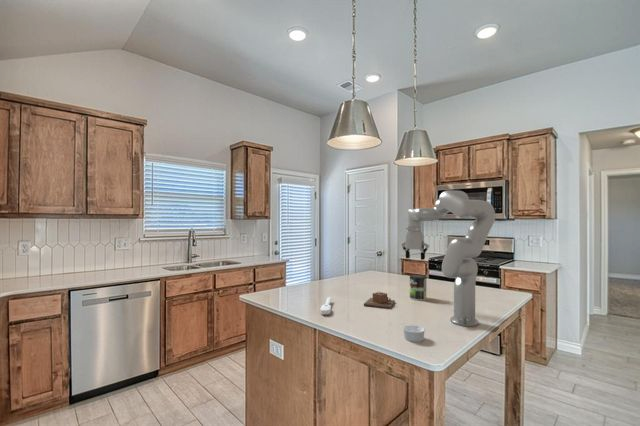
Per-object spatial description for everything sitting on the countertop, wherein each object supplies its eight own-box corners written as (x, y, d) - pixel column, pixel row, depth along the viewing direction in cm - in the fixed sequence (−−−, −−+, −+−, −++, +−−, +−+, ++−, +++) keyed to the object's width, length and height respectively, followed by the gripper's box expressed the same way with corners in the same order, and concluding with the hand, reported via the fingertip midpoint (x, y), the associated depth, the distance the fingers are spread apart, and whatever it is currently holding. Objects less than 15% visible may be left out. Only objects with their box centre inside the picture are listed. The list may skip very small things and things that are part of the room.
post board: (390, 309, 177) (390, 297, 178) (363, 306, 183) (363, 294, 183) (395, 302, 191) (395, 291, 191) (370, 299, 197) (370, 288, 197)
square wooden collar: (380, 304, 183) (380, 295, 183) (372, 302, 188) (372, 293, 188) (391, 301, 190) (391, 292, 190) (383, 299, 194) (383, 290, 194)
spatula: (324, 301, 193) (324, 296, 193) (334, 301, 193) (334, 297, 193) (319, 315, 165) (319, 310, 165) (330, 316, 165) (330, 310, 165)
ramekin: (415, 344, 129) (415, 333, 129) (398, 337, 136) (398, 327, 136) (429, 339, 134) (429, 329, 134) (411, 333, 141) (411, 323, 141)
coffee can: (417, 301, 194) (417, 278, 194) (406, 297, 203) (406, 275, 203) (430, 299, 198) (430, 276, 198) (418, 295, 208) (418, 273, 208)
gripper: (398, 229, 192) (398, 258, 192) (425, 230, 180) (425, 260, 179) (405, 229, 197) (405, 257, 197) (431, 229, 185) (432, 259, 184)
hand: (415, 258), depth 188 cm, fingers open, 9 cm apart
